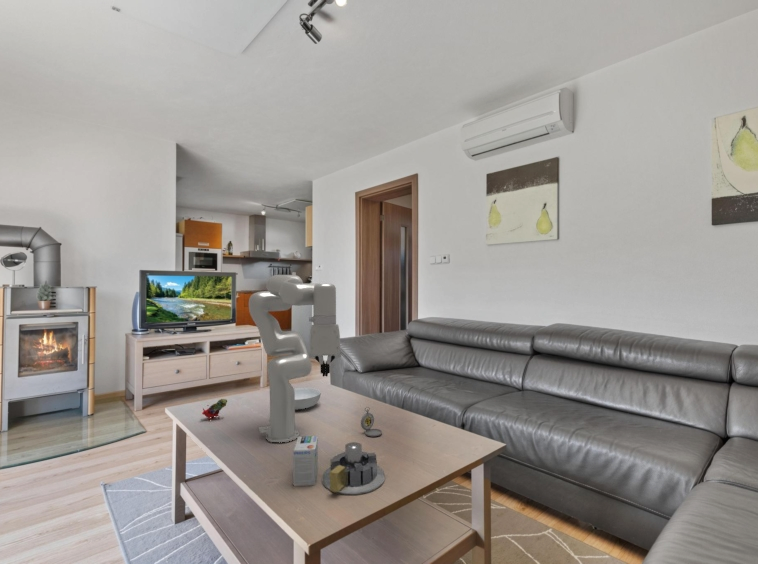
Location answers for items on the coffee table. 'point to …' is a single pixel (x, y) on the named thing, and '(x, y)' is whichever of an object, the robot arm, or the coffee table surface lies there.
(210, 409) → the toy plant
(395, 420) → the coffee table surface
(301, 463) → the light bulb box
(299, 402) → the serving bowl
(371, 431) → the pocket watch
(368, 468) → the castellated metal disc
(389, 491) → the coffee table surface
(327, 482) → the spindle plate
